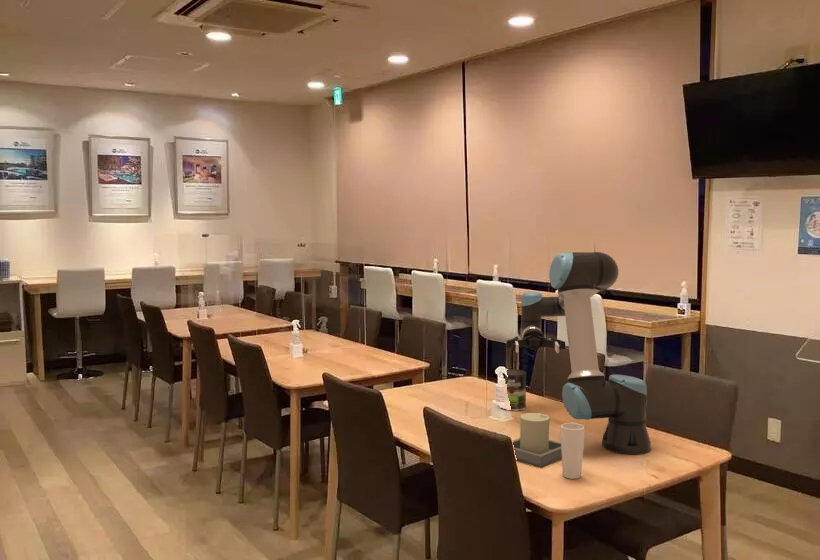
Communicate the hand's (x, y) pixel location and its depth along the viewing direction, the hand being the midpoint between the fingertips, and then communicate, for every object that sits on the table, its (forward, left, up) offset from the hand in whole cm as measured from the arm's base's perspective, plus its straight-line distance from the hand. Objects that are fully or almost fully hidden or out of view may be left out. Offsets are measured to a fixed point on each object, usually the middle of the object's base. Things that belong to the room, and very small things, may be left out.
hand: (537, 349), depth 249 cm
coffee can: (+27, -23, -30) cm, 46 cm away
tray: (-12, +17, -30) cm, 37 cm away
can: (-12, +17, -29) cm, 36 cm away
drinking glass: (-30, +24, -30) cm, 49 cm away
